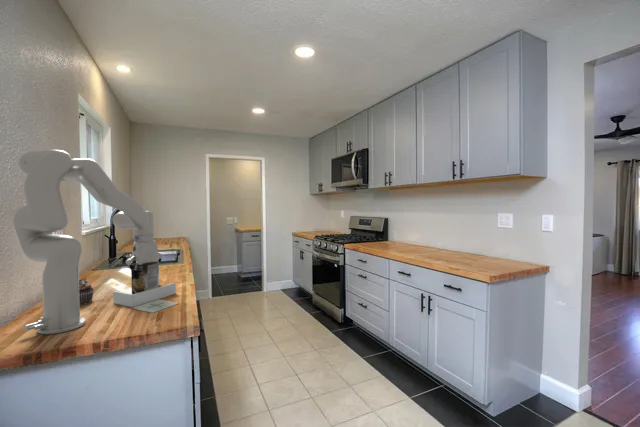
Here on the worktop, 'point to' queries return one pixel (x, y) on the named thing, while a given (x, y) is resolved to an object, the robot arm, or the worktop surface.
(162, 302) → the pad
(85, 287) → the cupcake
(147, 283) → the coffee box
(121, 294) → the grey l-shaped block
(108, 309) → the worktop surface
